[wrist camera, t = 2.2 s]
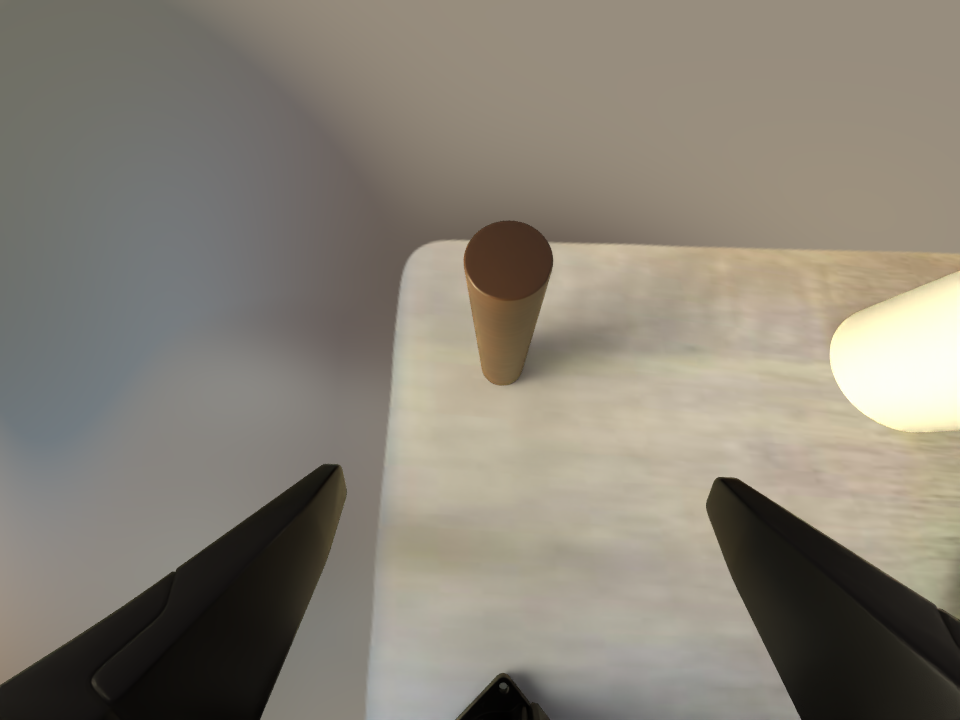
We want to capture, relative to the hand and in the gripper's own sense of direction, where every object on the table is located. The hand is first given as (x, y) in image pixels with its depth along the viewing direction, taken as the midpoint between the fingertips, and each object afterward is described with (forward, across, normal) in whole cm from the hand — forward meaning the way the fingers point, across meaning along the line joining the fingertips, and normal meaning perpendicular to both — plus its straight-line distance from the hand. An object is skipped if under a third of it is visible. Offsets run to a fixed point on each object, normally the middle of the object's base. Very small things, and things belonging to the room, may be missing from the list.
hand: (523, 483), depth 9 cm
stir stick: (+16, 0, +5) cm, 16 cm away
